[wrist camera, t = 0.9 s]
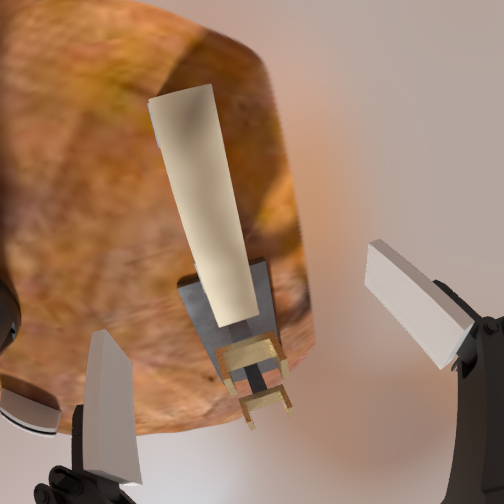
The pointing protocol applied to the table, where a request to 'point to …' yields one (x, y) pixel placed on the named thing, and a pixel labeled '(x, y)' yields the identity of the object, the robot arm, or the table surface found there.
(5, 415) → the grey curved block
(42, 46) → the table surface
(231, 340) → the bracket stand
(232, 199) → the beige long block
